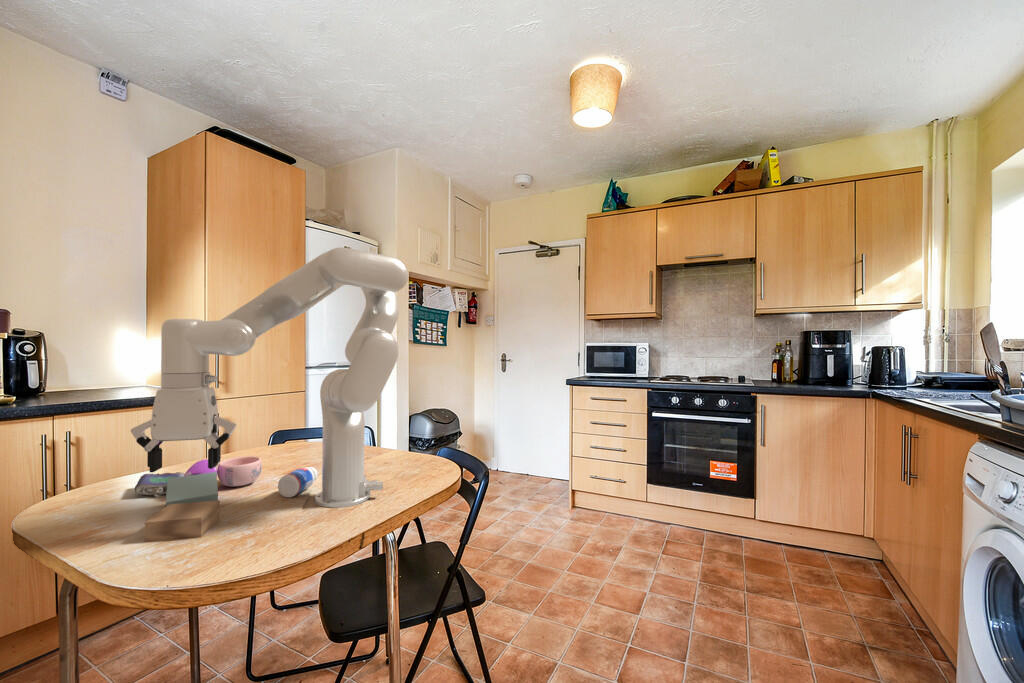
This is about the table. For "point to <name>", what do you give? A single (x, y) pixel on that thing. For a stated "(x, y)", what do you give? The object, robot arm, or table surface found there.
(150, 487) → the flask
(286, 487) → the pill bottle
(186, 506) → the tower base
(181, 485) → the tower top
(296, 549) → the table surface
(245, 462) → the pink bowl
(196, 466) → the toy
